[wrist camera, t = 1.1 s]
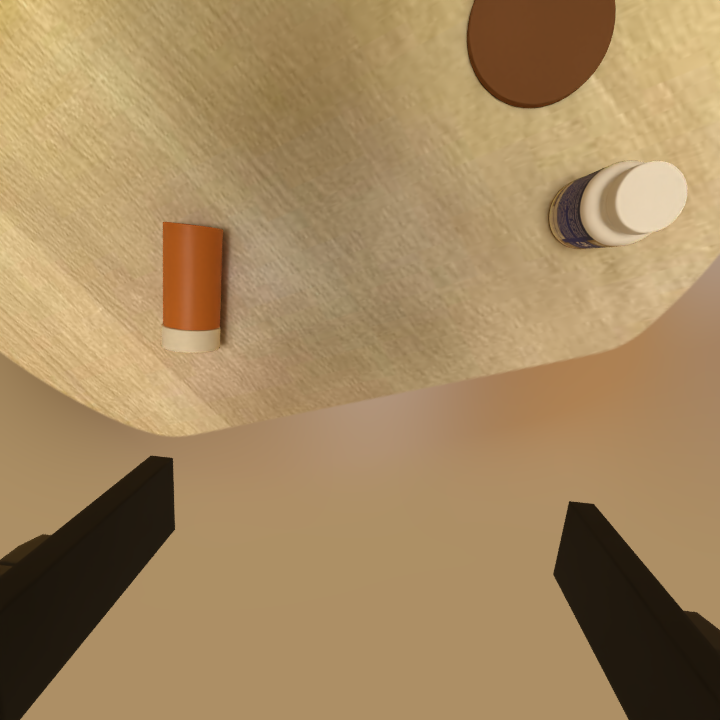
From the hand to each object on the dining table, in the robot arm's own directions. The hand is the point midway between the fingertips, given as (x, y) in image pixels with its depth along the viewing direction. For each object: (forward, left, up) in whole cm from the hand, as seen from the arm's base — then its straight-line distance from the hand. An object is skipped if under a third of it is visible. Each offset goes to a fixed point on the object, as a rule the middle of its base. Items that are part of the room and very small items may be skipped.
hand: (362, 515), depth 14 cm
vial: (-4, -16, -23) cm, 29 cm away
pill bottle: (-13, +14, -24) cm, 31 cm away
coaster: (-25, +8, -23) cm, 36 cm away
